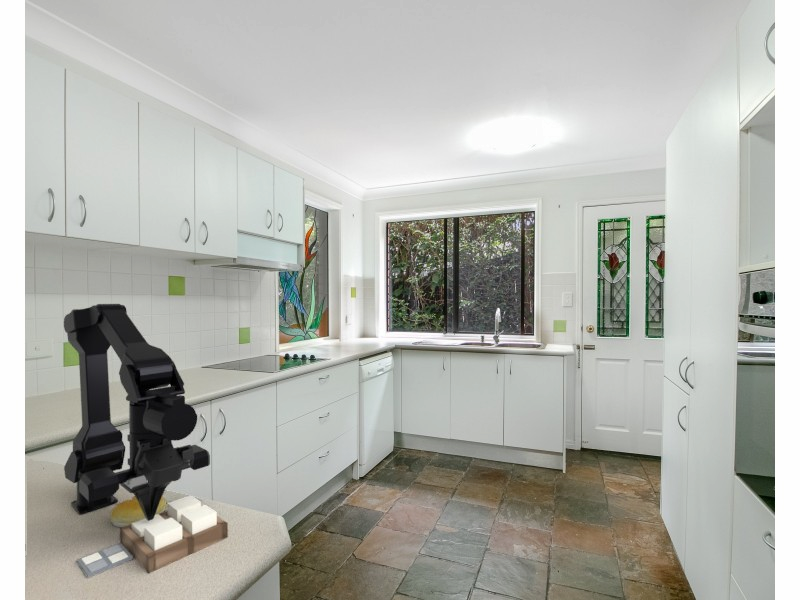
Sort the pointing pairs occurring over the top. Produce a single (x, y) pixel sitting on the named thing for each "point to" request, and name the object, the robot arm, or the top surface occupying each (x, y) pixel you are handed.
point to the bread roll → (132, 512)
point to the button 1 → (145, 525)
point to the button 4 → (198, 519)
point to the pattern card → (104, 559)
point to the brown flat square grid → (172, 551)
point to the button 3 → (182, 507)
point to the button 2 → (162, 533)
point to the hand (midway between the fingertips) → (149, 519)
